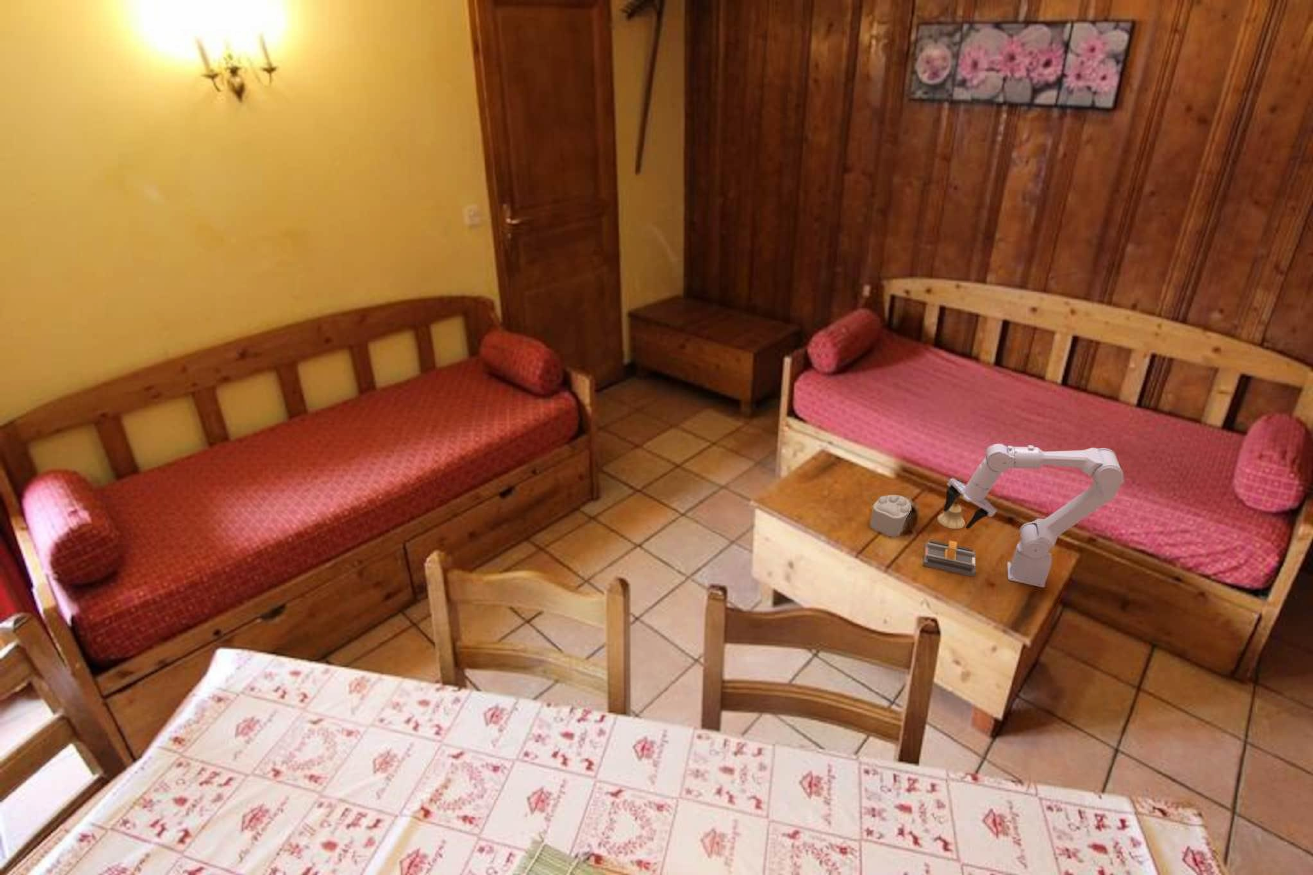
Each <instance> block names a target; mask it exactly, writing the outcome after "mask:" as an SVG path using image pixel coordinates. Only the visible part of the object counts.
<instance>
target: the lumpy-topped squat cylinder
mask: <svg viewBox="0 0 1313 875" xmlns="http://www.w3.org/2000/svg"><path fill="white" fill-rule="evenodd" d="M910 511H911V512H912V504H911V502H910V501H909V499H907V498H906V497H904V496H902V495H899V494H898V495H897V494H889V495H882V496H880V497H879V498H878V499H877V500H876V502H874V504H873V506H872V510H871V517H870V521H869V527H870V529H872V530H874V531H877V532H878V533H882V534H883V535H885V536H887V537H890V536H891V538H896V536H897V537H899V536H901V535H900V532H901V528H902V526H903V524H904V522H905V520H906V518H907V516H908V515H909V513H910ZM910 514H911V513H910Z"/></svg>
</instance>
